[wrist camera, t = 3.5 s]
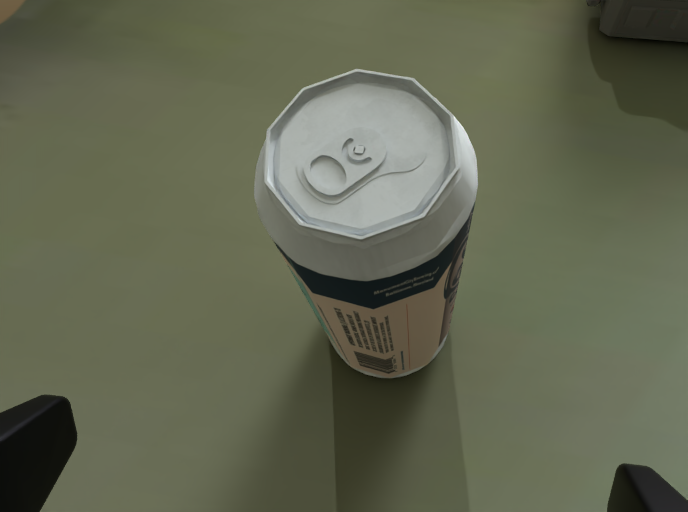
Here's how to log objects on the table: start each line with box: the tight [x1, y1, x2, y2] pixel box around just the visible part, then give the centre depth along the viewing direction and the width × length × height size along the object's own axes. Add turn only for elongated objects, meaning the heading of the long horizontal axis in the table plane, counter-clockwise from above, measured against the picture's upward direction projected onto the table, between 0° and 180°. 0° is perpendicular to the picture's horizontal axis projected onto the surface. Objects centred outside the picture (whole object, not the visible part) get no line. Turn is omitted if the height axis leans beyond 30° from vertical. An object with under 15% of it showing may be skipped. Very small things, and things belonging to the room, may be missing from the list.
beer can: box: [254, 69, 478, 378], centre depth 16 cm, size 5×5×12 cm
